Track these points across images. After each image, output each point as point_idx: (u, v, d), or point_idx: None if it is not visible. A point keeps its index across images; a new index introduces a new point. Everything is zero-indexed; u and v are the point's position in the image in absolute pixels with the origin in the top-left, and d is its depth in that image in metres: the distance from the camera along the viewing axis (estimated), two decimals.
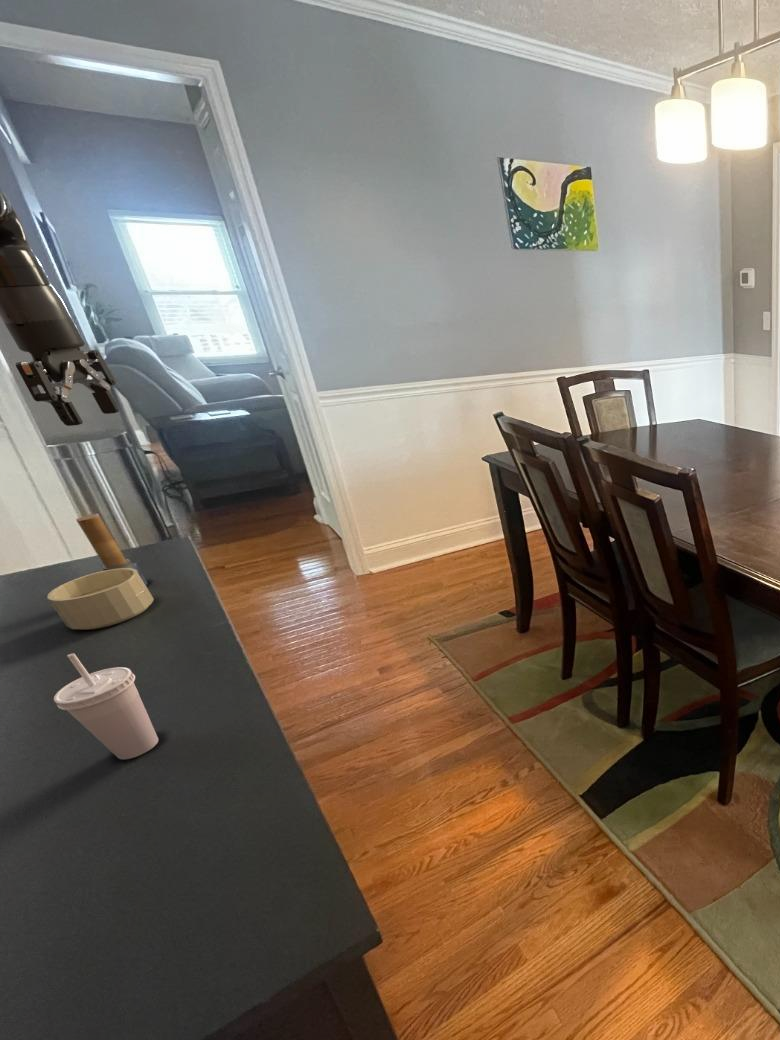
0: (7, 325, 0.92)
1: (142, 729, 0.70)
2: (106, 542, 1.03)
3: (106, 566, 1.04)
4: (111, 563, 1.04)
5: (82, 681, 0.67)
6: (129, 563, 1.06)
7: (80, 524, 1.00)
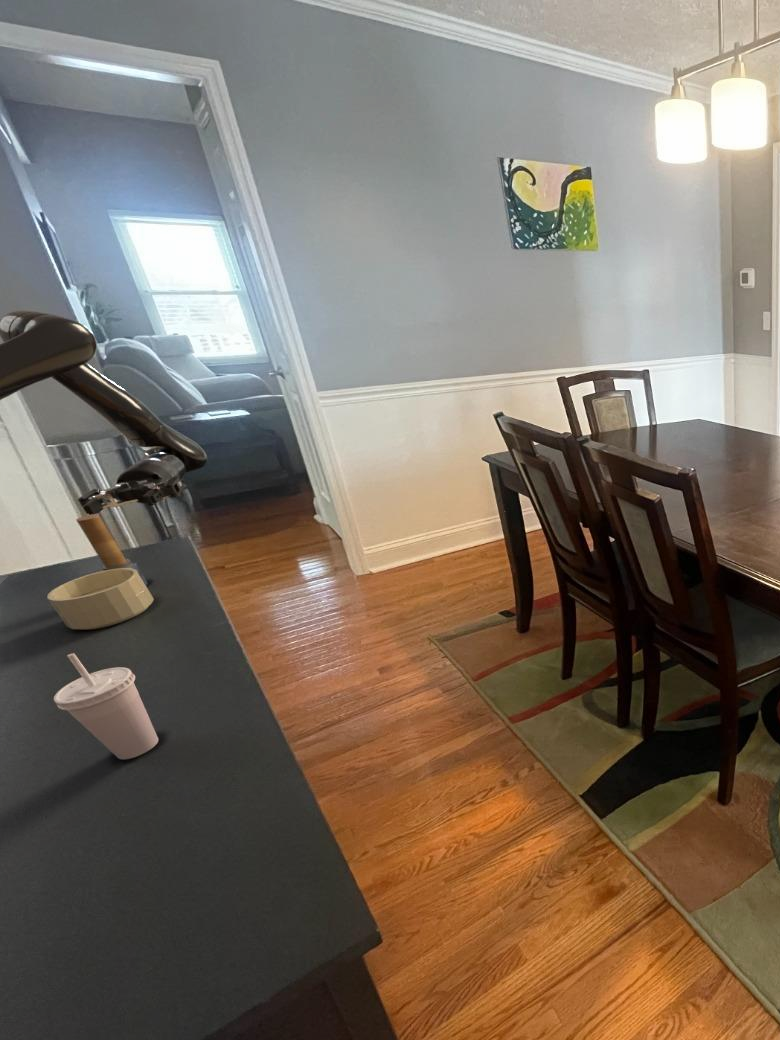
0: (162, 468, 1.23)
1: (142, 729, 0.70)
2: (106, 542, 1.03)
3: (106, 566, 1.04)
4: (111, 563, 1.04)
5: (82, 681, 0.67)
6: (129, 563, 1.06)
7: (80, 524, 1.00)
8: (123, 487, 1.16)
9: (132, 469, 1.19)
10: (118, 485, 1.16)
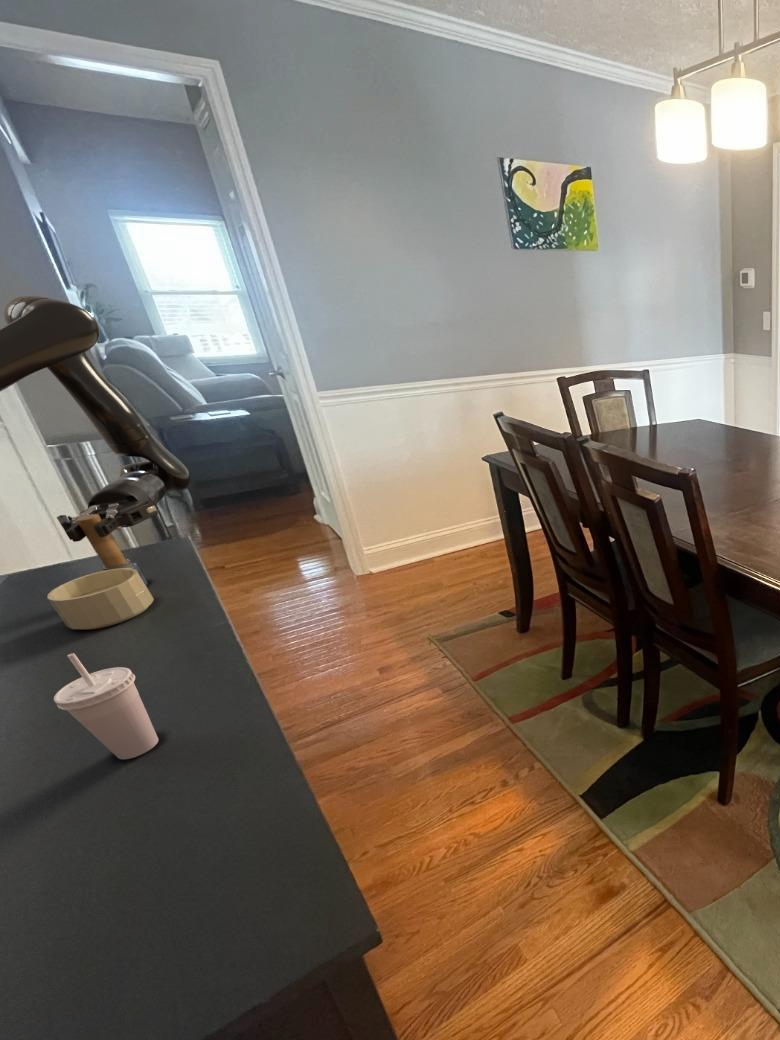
0: (139, 488, 1.13)
1: (142, 729, 0.70)
2: (106, 542, 1.03)
3: (106, 566, 1.04)
4: (111, 563, 1.04)
5: (82, 681, 0.67)
6: (129, 563, 1.06)
7: (80, 524, 1.00)
8: None
9: (105, 490, 1.08)
10: (89, 508, 1.06)
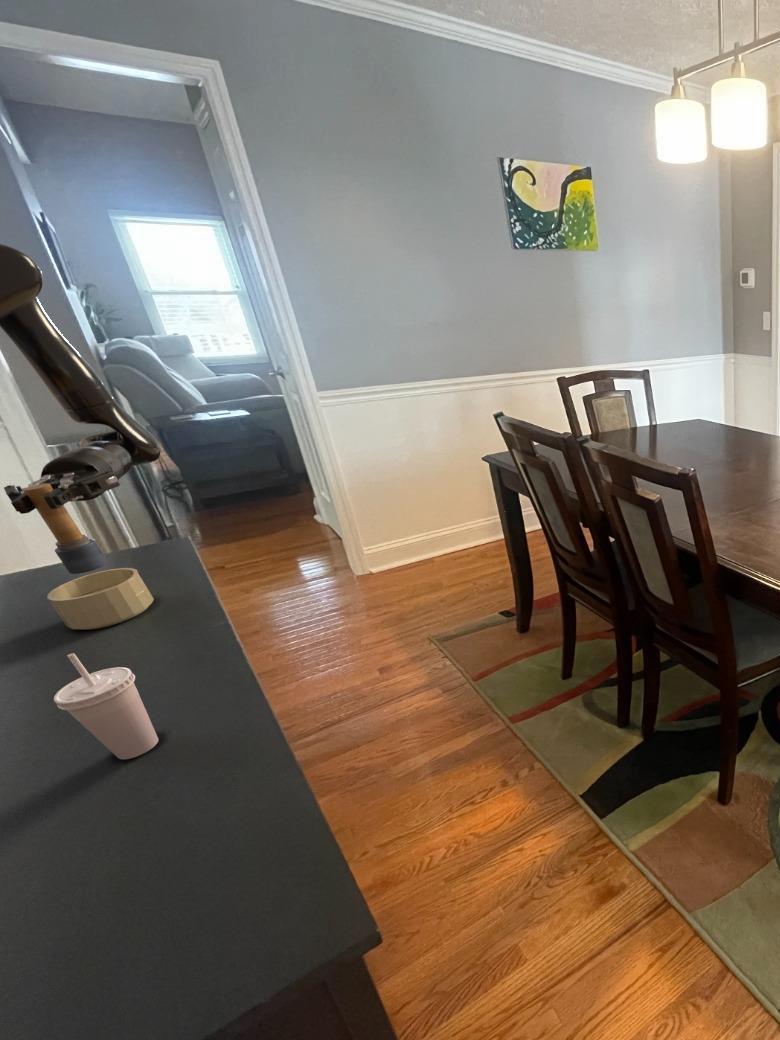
0: (99, 458, 1.02)
1: (142, 729, 0.70)
2: (59, 515, 0.92)
3: (59, 542, 0.93)
4: (65, 539, 0.93)
5: (82, 681, 0.67)
6: (86, 539, 0.95)
7: (28, 494, 0.89)
8: None
9: (60, 459, 0.97)
10: (41, 478, 0.95)
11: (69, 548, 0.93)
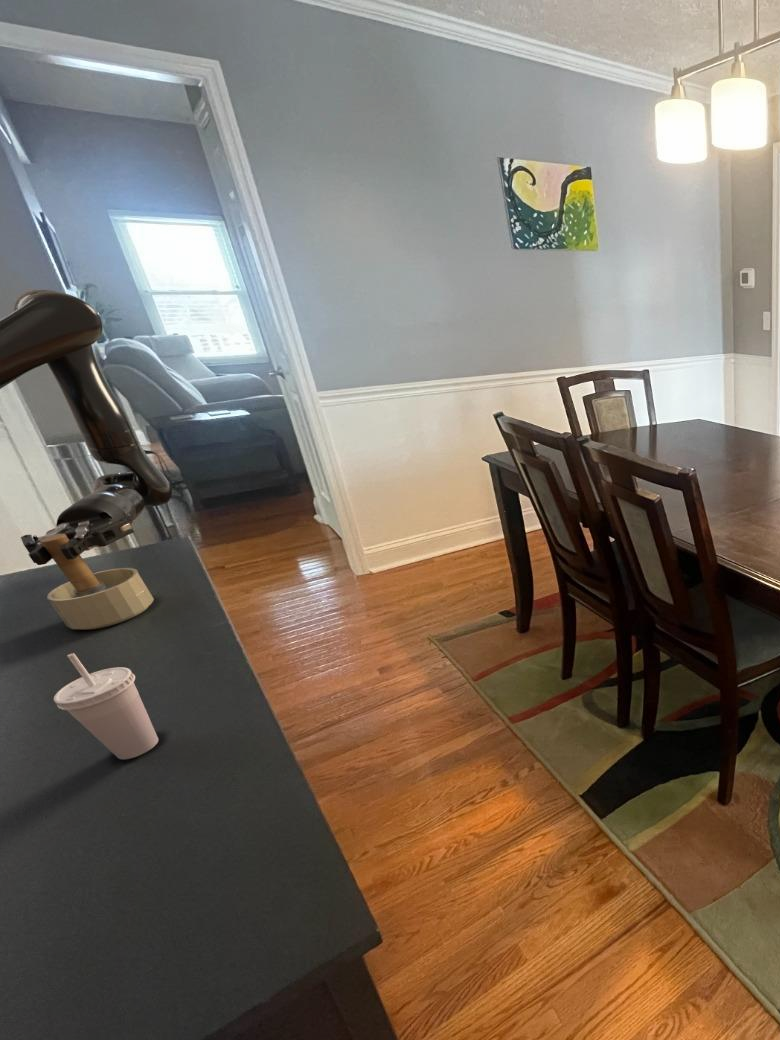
0: (113, 504, 1.04)
1: (142, 729, 0.70)
2: (75, 564, 0.94)
3: (77, 590, 0.95)
4: (82, 587, 0.95)
5: (82, 681, 0.67)
6: (102, 586, 0.97)
7: (45, 546, 0.91)
8: None
9: (75, 507, 0.99)
10: (57, 527, 0.96)
11: None
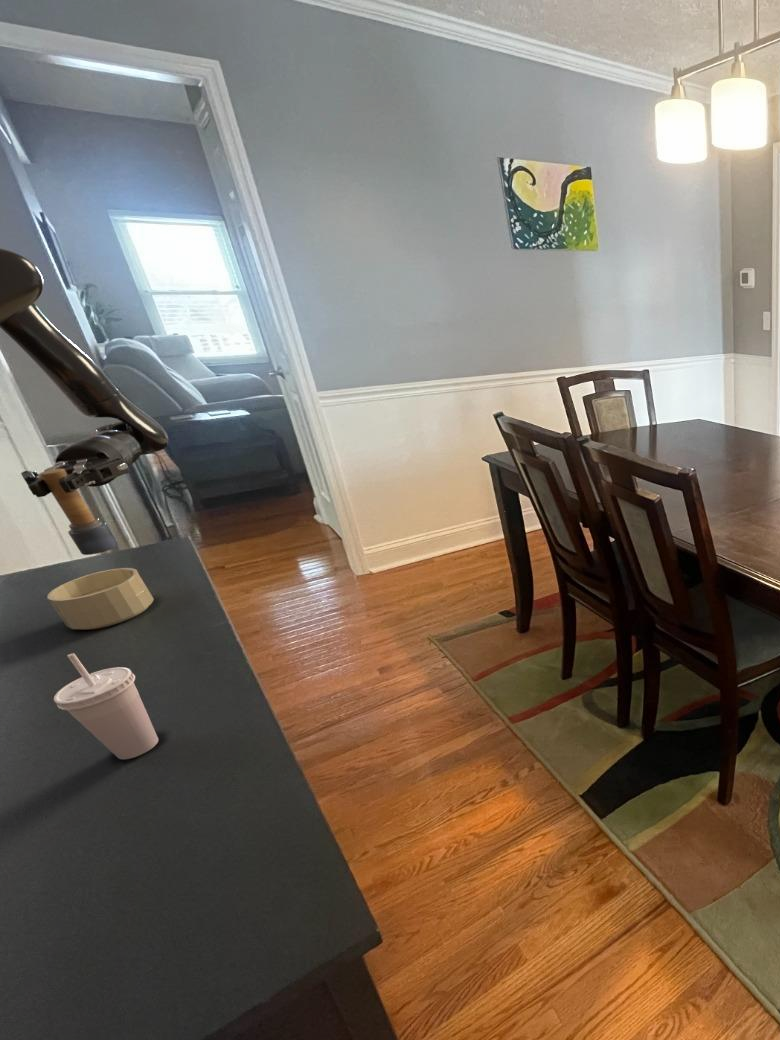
0: (110, 446, 1.07)
1: (142, 729, 0.70)
2: (72, 498, 0.97)
3: (73, 524, 0.98)
4: (78, 521, 0.98)
5: (82, 681, 0.67)
6: (98, 522, 1.00)
7: (44, 478, 0.95)
8: None
9: (74, 446, 1.03)
10: (56, 464, 1.00)
11: (82, 530, 0.99)
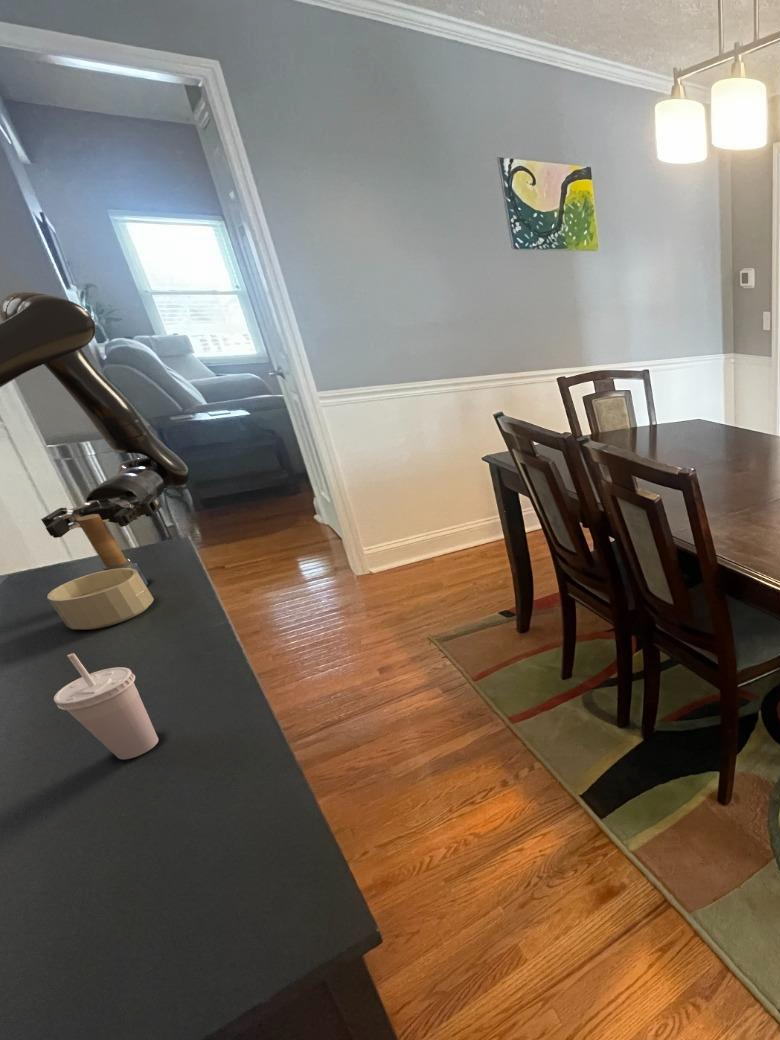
0: (137, 484, 1.13)
1: (142, 729, 0.70)
2: (106, 542, 1.03)
3: (106, 566, 1.04)
4: (111, 563, 1.04)
5: (82, 681, 0.67)
6: (129, 563, 1.06)
7: (80, 524, 1.00)
8: (93, 506, 1.06)
9: (104, 486, 1.08)
10: (87, 503, 1.05)
11: None
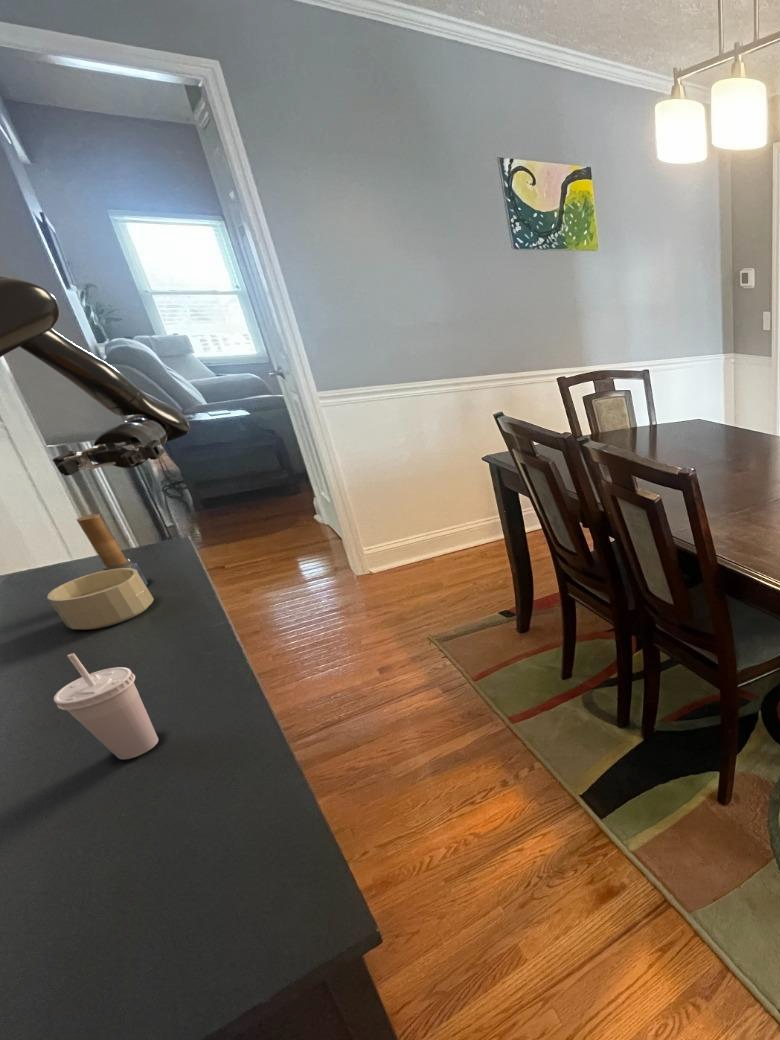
0: (141, 432, 1.20)
1: (142, 729, 0.70)
2: (106, 542, 1.03)
3: (106, 566, 1.04)
4: (111, 563, 1.04)
5: (82, 681, 0.67)
6: (129, 563, 1.06)
7: (80, 524, 1.00)
8: (100, 449, 1.13)
9: (110, 431, 1.15)
10: (95, 447, 1.12)
11: None
